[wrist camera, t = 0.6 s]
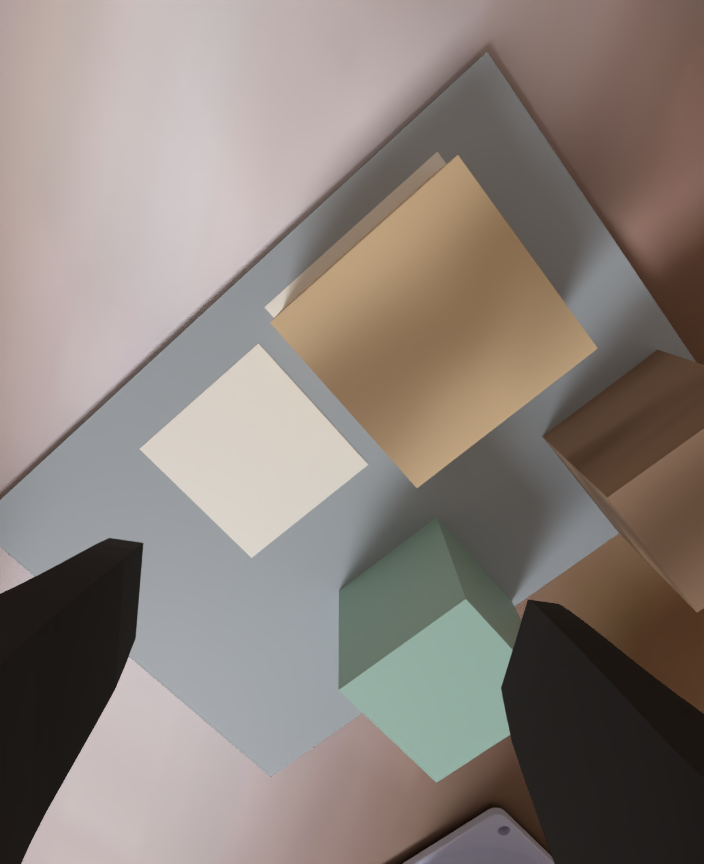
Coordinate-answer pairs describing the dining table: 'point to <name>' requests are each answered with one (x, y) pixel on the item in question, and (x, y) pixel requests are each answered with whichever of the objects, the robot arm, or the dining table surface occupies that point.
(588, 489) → the walnut block
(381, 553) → the blueprint board
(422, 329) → the oak base block
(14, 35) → the dining table surface
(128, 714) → the dining table surface
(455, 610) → the sage-green block
